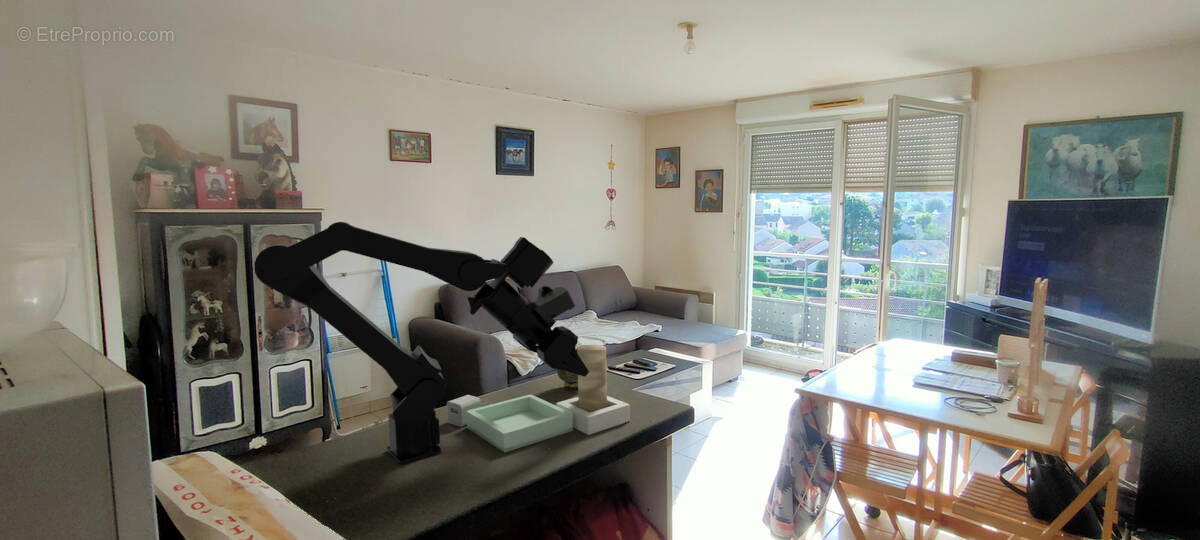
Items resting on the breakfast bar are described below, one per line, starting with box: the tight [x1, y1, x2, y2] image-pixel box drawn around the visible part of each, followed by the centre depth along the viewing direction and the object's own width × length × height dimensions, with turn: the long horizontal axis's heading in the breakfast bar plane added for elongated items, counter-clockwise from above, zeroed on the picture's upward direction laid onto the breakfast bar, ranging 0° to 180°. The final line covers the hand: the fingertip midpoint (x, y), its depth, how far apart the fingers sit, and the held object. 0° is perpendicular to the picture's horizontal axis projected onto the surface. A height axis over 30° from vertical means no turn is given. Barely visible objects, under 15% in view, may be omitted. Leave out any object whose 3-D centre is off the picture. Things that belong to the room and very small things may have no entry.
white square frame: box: [555, 395, 631, 436], centre depth 98 cm, size 9×9×3 cm
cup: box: [555, 345, 581, 391], centre depth 116 cm, size 8×7×8 cm
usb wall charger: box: [446, 394, 490, 428], centre depth 99 cm, size 4×7×4 cm, turn 143°
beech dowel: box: [576, 344, 608, 413], centre depth 97 cm, size 5×5×13 cm
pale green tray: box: [466, 394, 574, 453], centre depth 94 cm, size 13×13×3 cm
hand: (576, 367), depth 96 cm, fingers open, 9 cm apart
